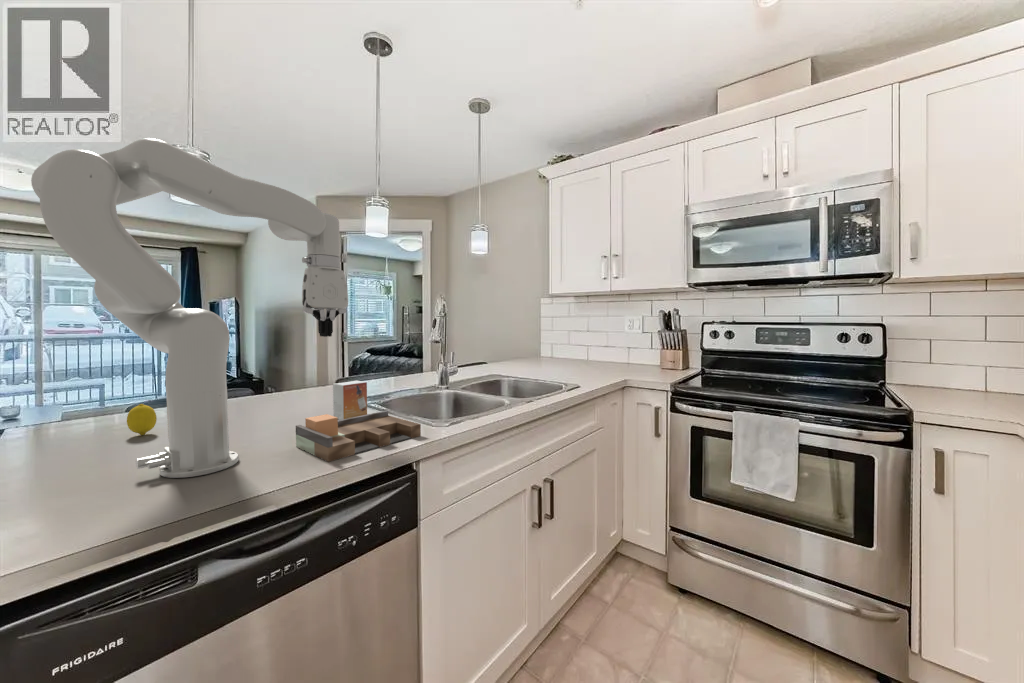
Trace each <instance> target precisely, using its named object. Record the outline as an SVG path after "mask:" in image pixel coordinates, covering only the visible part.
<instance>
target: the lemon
mask: <svg viewBox="0 0 1024 683" xmlns="http://www.w3.org/2000/svg"><path fill="white" fill-rule="evenodd" d="M157 420H158V418H157V412H156V411H155V409H154V408H153V407H151V406H149V405H146V404H144V403H140V404H138V405H136V406H134V407H132V408H131V409H130V410H129V411H128V413H127V416H126V425H127V427H128V430H129V431H130V432H133V433H135V434H138V435H140V436H144V435H145V434H146V433H148V432H150V431H151V430H153V429H154V427H155V426H156V424H157Z"/></svg>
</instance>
